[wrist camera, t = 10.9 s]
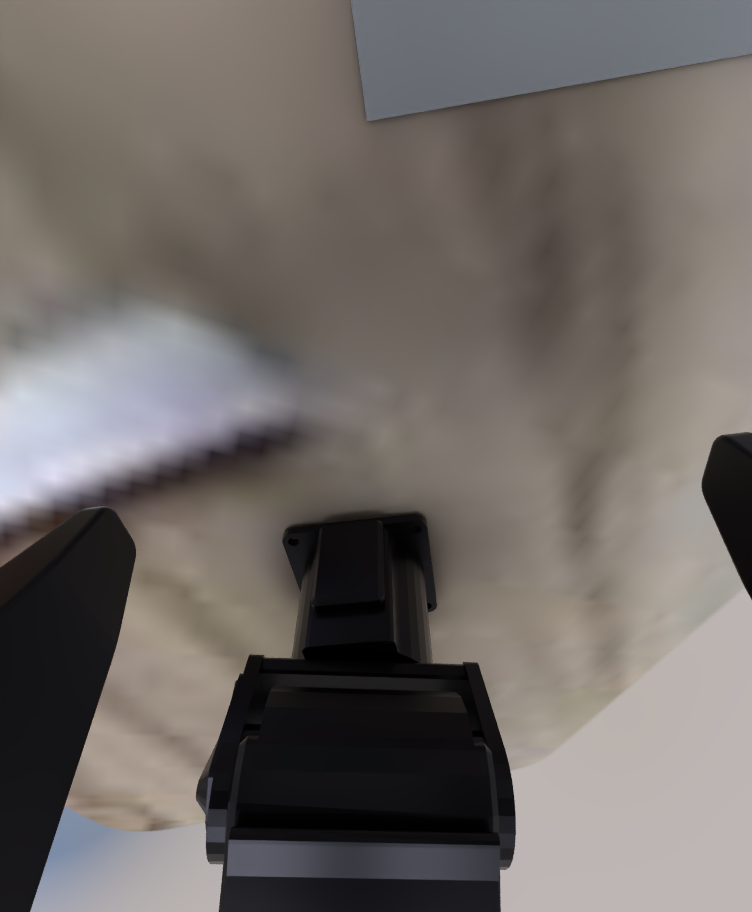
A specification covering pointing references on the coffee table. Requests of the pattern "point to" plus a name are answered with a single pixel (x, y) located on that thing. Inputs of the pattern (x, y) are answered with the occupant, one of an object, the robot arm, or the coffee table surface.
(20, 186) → the coffee table surface
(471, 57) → the slate mat
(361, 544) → the robot arm
